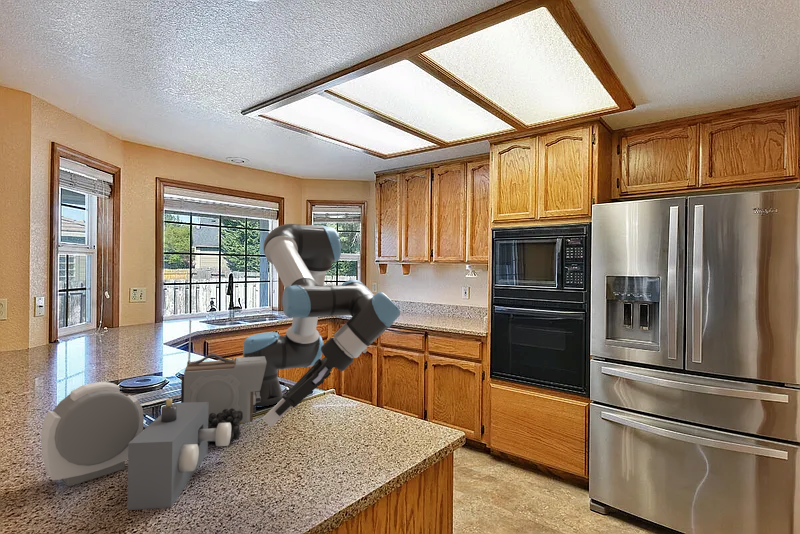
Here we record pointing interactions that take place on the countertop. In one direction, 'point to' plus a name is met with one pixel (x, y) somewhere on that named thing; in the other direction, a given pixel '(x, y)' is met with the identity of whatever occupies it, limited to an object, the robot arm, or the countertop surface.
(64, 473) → the grey rounded slab
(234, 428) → the fruit
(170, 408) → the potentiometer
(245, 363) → the portable television
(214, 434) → the knob
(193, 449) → the knob
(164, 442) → the block
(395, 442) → the countertop surface
